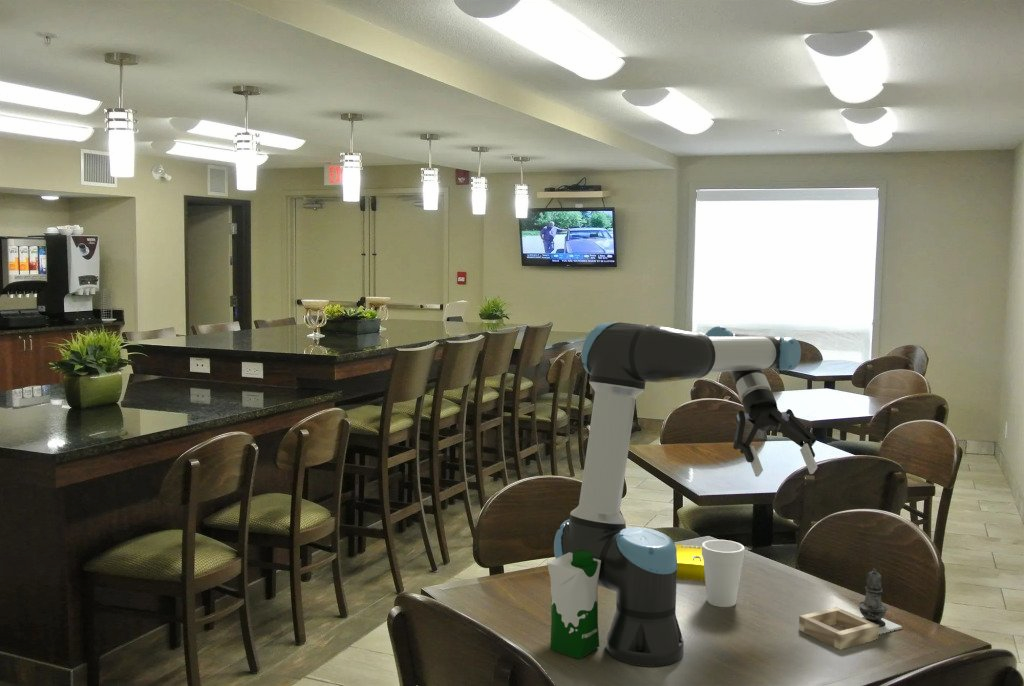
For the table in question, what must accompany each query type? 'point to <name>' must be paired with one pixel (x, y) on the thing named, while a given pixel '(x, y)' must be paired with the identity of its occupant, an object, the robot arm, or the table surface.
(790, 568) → the table surface
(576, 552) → the milk carton
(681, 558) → the element tile
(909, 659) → the table surface
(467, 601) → the table surface
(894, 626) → the white mat
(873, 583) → the dark chess piece
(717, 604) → the foam cup
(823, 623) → the wooden square frame
